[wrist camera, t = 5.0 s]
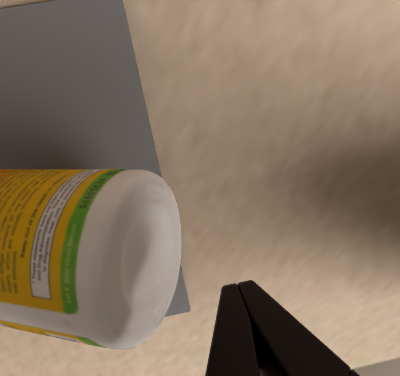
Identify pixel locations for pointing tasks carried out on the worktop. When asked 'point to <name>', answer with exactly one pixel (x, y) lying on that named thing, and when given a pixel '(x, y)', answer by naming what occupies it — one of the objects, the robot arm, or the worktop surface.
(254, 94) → the worktop surface
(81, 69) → the mat
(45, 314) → the supplement bottle
